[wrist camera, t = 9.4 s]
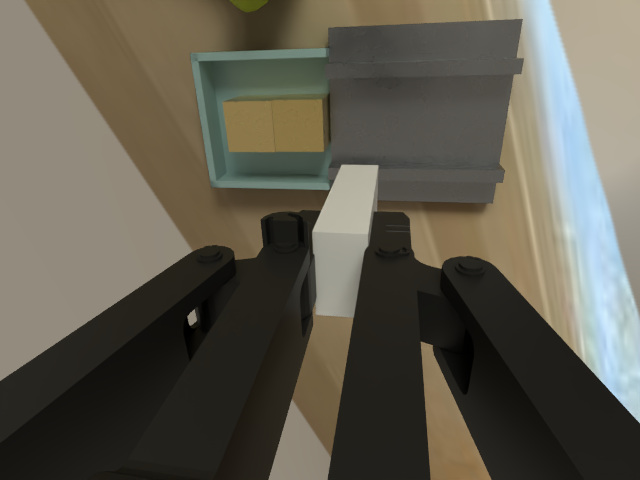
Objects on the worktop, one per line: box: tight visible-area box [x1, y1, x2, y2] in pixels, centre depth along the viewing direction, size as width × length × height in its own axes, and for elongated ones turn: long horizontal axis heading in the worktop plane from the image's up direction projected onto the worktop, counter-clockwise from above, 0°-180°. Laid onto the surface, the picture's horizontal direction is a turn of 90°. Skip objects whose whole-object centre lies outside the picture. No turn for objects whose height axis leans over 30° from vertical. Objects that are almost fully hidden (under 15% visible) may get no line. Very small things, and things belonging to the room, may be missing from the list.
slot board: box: [325, 19, 524, 203], centre depth 33 cm, size 14×14×4 cm
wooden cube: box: [271, 93, 331, 152], centre depth 34 cm, size 4×4×4 cm
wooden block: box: [223, 95, 281, 152], centre depth 34 cm, size 4×4×4 cm
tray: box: [190, 48, 332, 190], centre depth 35 cm, size 11×11×3 cm
